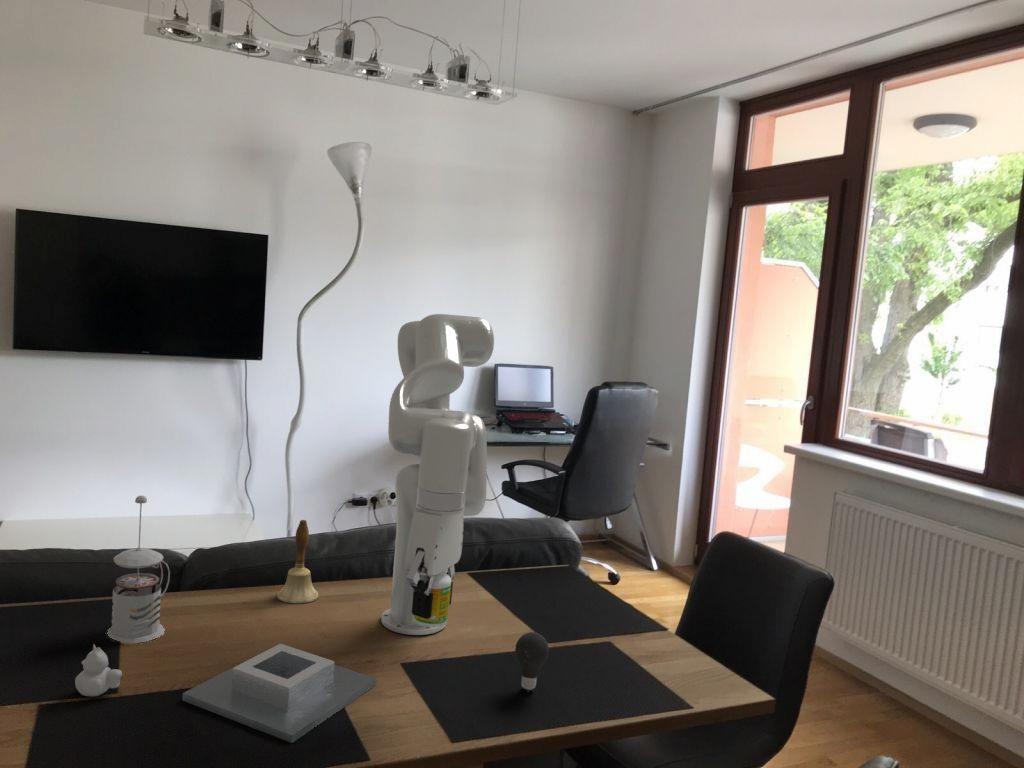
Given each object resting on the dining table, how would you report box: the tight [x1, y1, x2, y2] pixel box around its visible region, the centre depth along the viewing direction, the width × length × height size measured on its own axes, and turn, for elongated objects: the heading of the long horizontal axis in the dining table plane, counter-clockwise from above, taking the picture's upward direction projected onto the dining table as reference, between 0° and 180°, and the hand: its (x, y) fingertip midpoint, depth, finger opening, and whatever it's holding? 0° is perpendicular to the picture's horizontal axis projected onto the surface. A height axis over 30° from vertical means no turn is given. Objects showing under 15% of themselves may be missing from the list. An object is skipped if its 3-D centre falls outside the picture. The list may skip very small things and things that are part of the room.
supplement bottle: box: [414, 568, 451, 627], centre depth 133 cm, size 5×5×10 cm
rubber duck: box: [74, 644, 123, 697], centre depth 128 cm, size 5×7×8 cm
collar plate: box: [182, 643, 377, 744], centre depth 134 cm, size 21×21×5 cm
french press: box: [106, 495, 171, 643], centre depth 150 cm, size 10×12×25 cm
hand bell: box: [276, 519, 319, 604], centre depth 173 cm, size 8×8×16 cm
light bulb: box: [514, 631, 550, 691], centre depth 142 cm, size 6×6×10 cm
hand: (431, 608), depth 133 cm, fingers closed on supplement bottle, 5 cm apart
